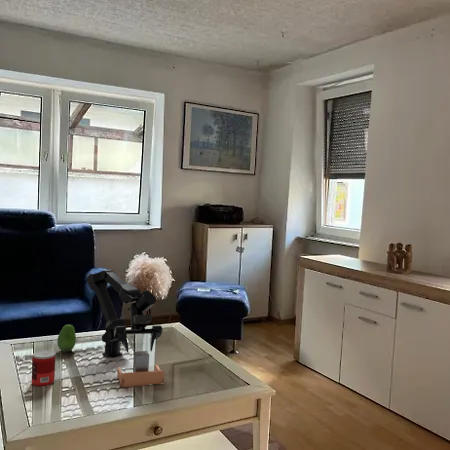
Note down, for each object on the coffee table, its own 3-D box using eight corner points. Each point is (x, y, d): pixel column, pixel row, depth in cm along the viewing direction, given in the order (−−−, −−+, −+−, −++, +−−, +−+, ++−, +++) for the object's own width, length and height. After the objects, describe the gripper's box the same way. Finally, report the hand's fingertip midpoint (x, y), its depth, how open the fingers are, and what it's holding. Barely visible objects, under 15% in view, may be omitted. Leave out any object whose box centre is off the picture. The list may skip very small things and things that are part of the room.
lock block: (132, 376, 182) (134, 351, 181) (145, 375, 184) (147, 350, 183) (134, 381, 177) (136, 355, 177) (147, 380, 179) (149, 355, 178)
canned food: (58, 380, 175) (60, 352, 174) (43, 388, 167) (45, 358, 166) (41, 376, 177) (43, 348, 176) (26, 384, 170) (27, 354, 169)
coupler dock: (117, 374, 184) (118, 362, 184) (157, 372, 189) (158, 360, 189) (121, 387, 173) (121, 374, 172) (163, 384, 178) (164, 371, 178)
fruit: (78, 351, 206) (80, 325, 206) (62, 355, 201) (63, 328, 200) (69, 347, 212) (71, 321, 211) (53, 350, 206) (54, 323, 205)
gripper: (116, 306, 184) (117, 342, 175) (163, 306, 190) (167, 341, 181) (113, 320, 192) (114, 356, 183) (158, 319, 198) (161, 354, 189)
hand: (139, 351), depth 183 cm, fingers open, 9 cm apart
